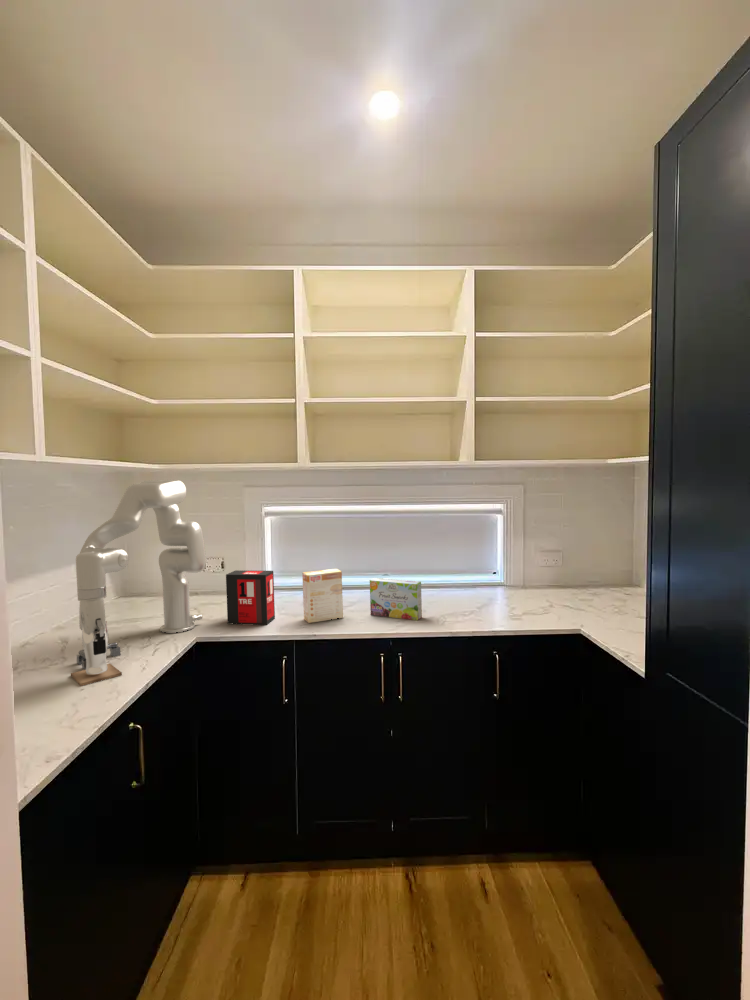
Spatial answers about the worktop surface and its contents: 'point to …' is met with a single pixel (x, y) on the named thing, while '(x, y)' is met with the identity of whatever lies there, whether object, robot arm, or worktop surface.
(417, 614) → the snack box
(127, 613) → the worktop surface
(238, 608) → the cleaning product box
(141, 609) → the worktop surface
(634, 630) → the worktop surface
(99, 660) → the beer glass
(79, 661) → the grey metal bent rod
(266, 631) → the worktop surface
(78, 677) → the walnut board
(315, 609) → the coffeecake box
